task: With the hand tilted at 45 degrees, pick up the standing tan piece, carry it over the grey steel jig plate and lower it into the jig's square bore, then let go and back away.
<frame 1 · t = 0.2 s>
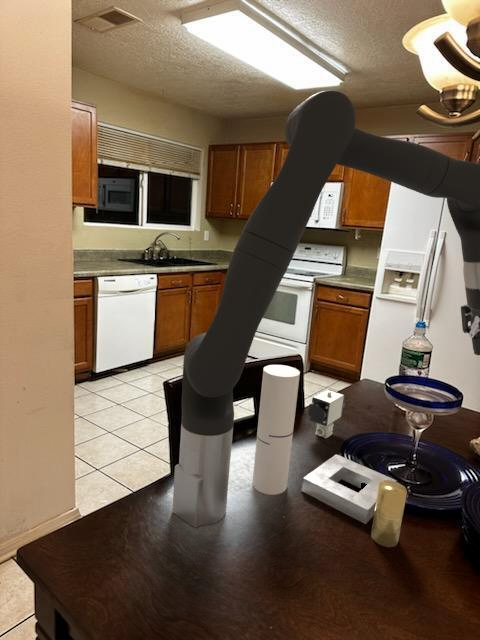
pneumatic valve: (322, 434, 116), on the table
jig: (348, 492, 91), on the table
cylindrical container: (269, 485, 92), on the table
tan piece: (384, 537, 78), on the table
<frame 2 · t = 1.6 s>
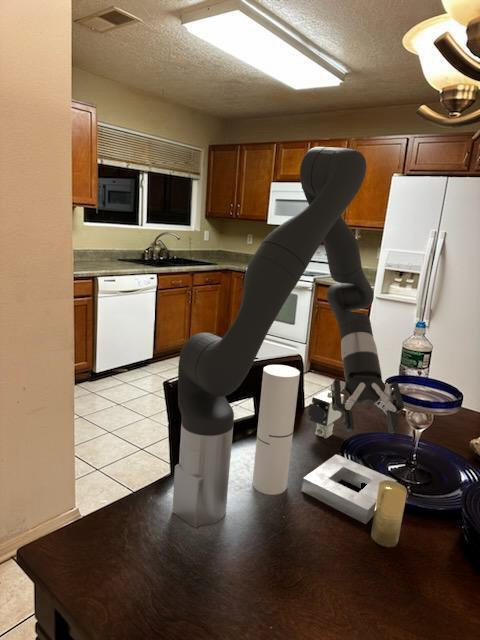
hand: (372, 431, 86), 15 cm above the table, tool tilted 45°, fingers open, 8 cm apart
nothing on the table moved.
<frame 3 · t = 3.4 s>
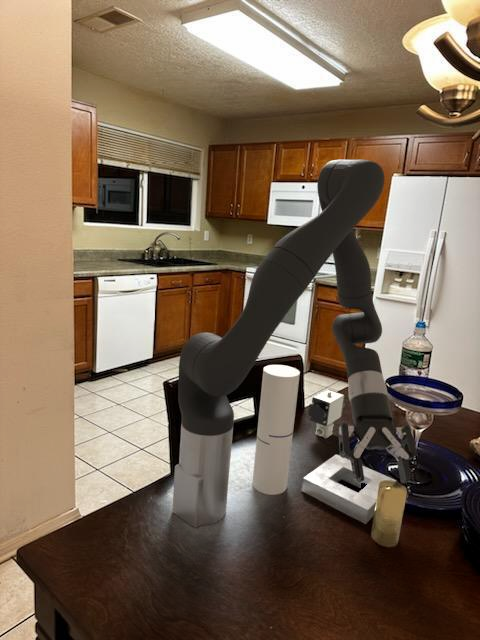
hand: (383, 481, 80), 9 cm above the table, tool tilted 45°, fingers open, 8 cm apart
nothing on the table moved.
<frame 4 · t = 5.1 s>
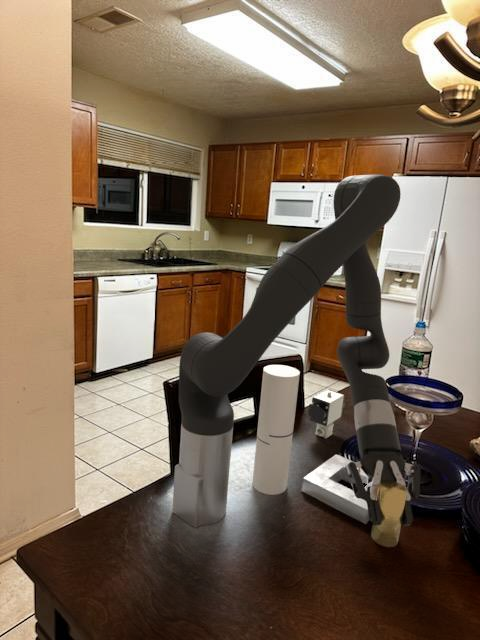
hand: (392, 524, 76), 4 cm above the table, tool tilted 45°, fingers closed on tan piece, 4 cm apart
tan piece: (384, 537, 78), on the table, touching gripper
everything else where it was.
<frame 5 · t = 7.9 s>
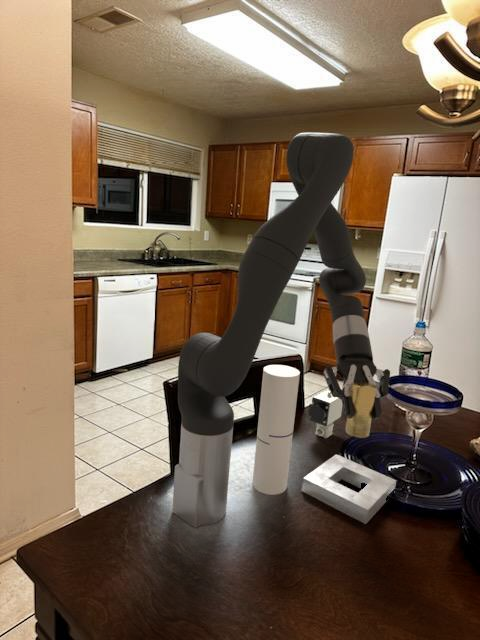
hand: (363, 417, 86), 18 cm above the table, tool tilted 45°, fingers closed on tan piece, 4 cm apart
tan piece: (357, 432, 88), point 13 cm above the table, touching gripper
everything else where it was.
when the fingers open (6 cm above the table, at t = 10.2 s): tan piece drops 2 cm, resting in jig.
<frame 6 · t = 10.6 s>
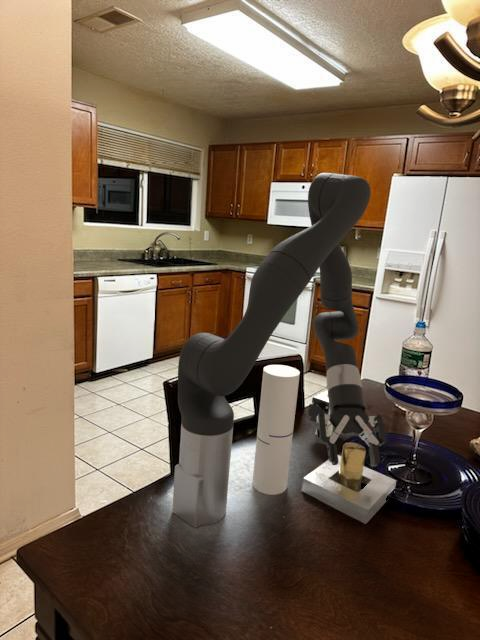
hand: (355, 464, 88), 7 cm above the table, tool tilted 45°, fingers open, 8 cm apart
tan piece: (347, 491, 91), resting in jig
everything else where it was.
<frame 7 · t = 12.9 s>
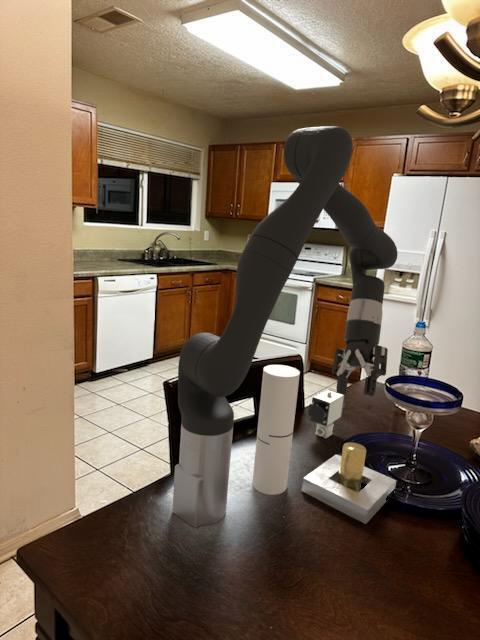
hand: (354, 394, 95), 18 cm above the table, tool tilted 25°, fingers open, 8 cm apart
nothing on the table moved.
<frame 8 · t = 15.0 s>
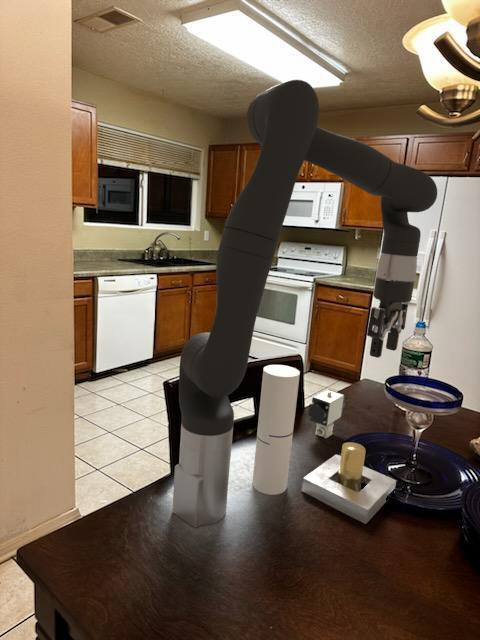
hand: (383, 353, 93), 28 cm above the table, tool pointing down, fingers open, 8 cm apart
nothing on the table moved.
at the end: tan piece 0.1 cm off-centre on the jig, point 0.0 cm above the jig's base; tan piece tilted 1°; the gripper is holding nothing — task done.
